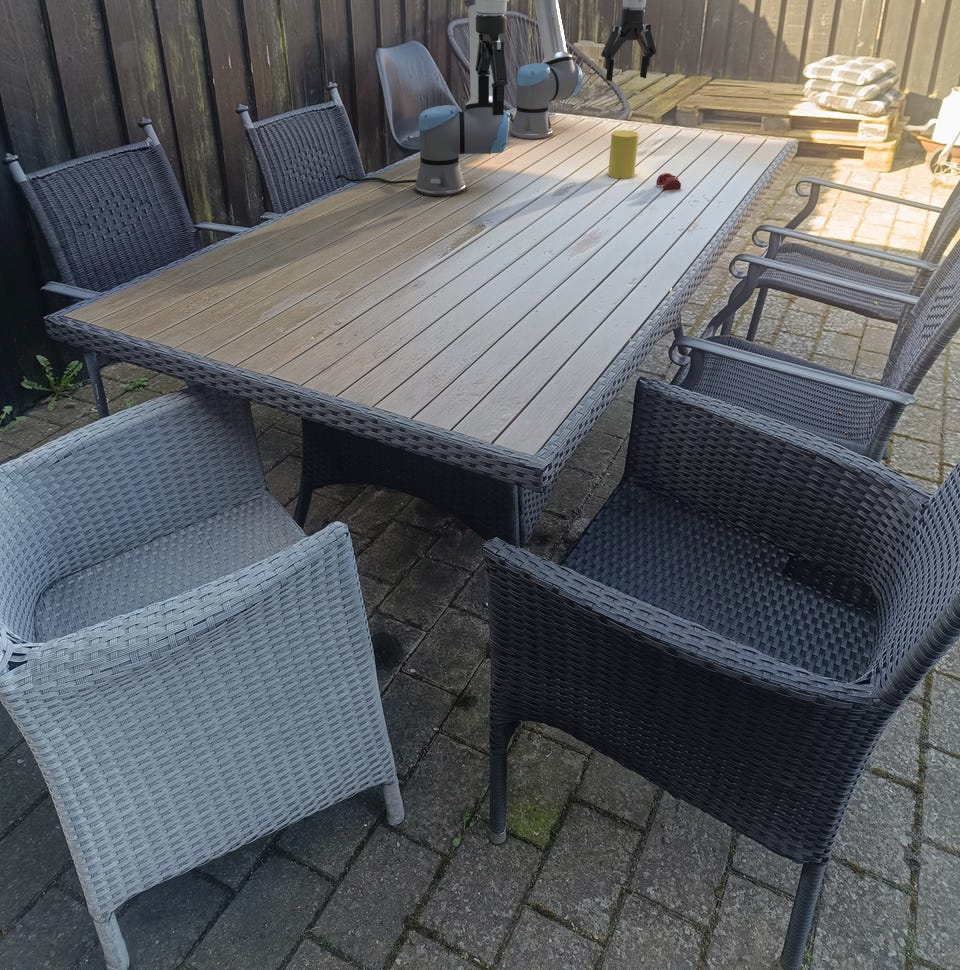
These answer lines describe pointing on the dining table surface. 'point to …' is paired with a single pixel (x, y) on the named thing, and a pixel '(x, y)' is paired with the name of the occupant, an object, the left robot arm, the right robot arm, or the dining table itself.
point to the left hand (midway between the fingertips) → (490, 109)
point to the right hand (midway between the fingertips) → (626, 79)
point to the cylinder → (623, 154)
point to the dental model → (668, 182)
